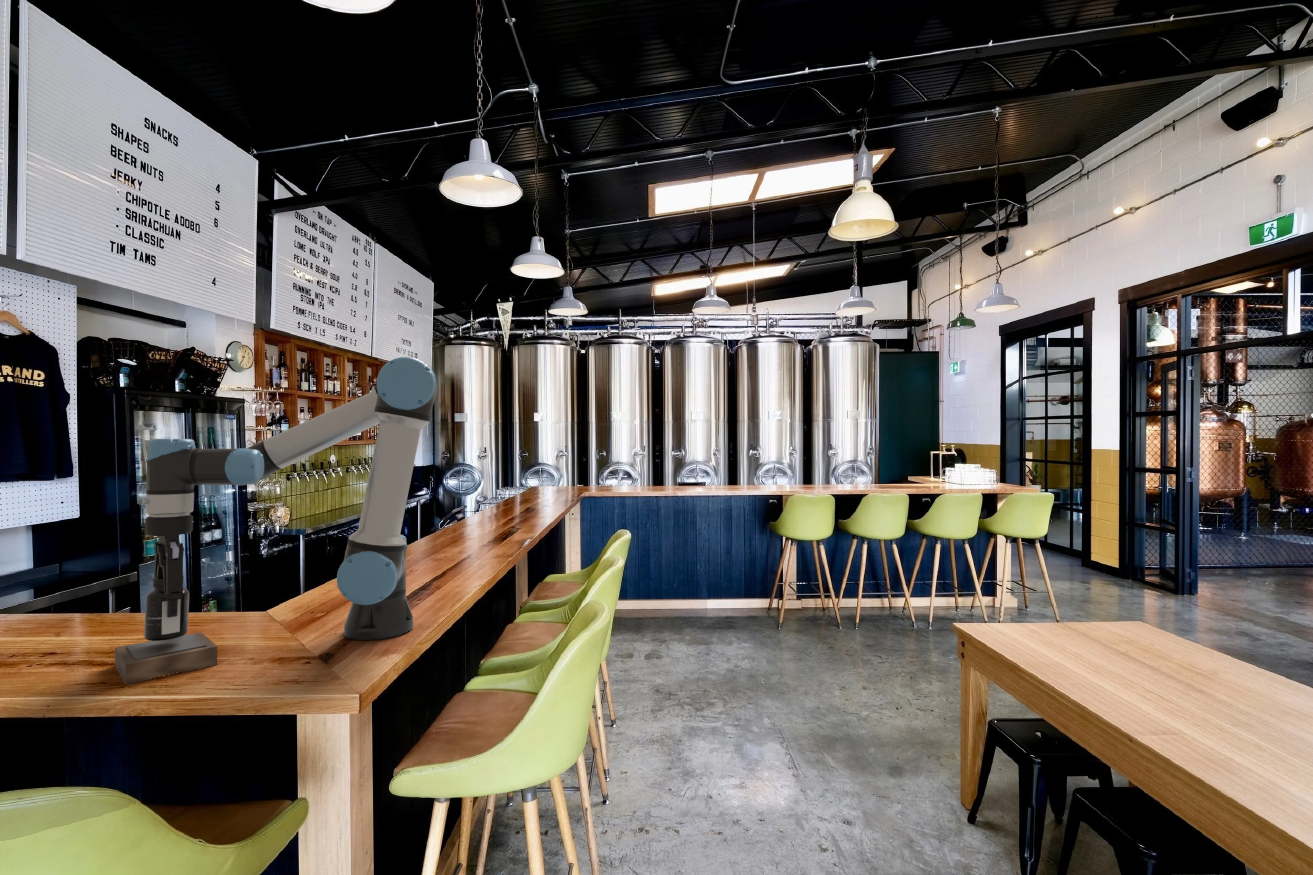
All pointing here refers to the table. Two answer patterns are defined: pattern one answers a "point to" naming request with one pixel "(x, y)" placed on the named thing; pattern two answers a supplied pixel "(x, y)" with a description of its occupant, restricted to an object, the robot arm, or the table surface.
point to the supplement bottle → (155, 613)
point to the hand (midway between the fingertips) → (166, 628)
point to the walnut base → (164, 657)
